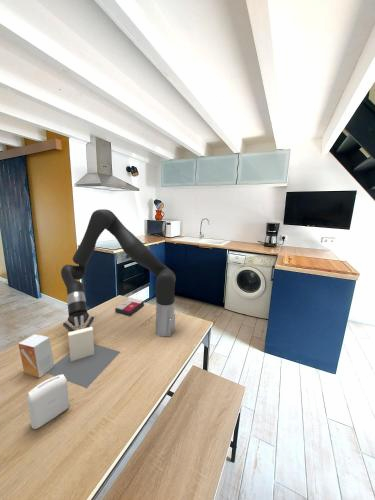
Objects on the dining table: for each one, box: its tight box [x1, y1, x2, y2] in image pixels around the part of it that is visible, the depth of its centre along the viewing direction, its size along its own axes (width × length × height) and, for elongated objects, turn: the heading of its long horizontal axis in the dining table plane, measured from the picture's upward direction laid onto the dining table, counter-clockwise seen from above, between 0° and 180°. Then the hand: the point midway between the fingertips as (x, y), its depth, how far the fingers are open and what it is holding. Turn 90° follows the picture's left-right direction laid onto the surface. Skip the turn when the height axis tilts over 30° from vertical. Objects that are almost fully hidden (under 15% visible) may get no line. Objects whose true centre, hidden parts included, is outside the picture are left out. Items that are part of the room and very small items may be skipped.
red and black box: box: [114, 297, 145, 317], centre depth 131 cm, size 11×4×15 cm
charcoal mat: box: [45, 343, 121, 389], centre depth 86 cm, size 20×20×1 cm
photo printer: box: [26, 374, 70, 430], centre depth 63 cm, size 10×4×12 cm, turn 140°
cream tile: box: [67, 326, 95, 361], centre depth 88 cm, size 2×9×12 cm, turn 122°
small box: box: [17, 333, 55, 379], centre depth 79 cm, size 8×6×13 cm
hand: (81, 341), depth 89 cm, fingers closed
